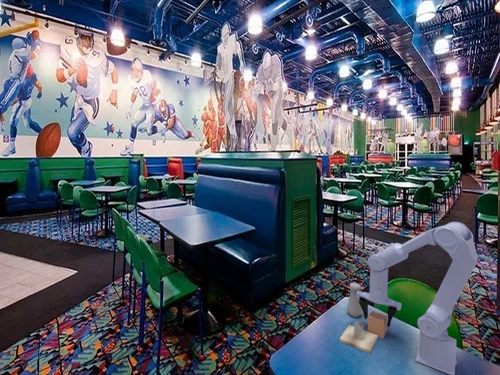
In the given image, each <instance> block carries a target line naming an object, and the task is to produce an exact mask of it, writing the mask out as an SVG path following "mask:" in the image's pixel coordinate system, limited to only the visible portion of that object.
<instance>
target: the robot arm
mask: <svg viewBox="0 0 500 375" xmlns="http://www.w3.org/2000/svg"><path fill="white" fill-rule="evenodd" d="M426 245H431V246H437V245H439V247H440V248H442V249H443V250H444V251H446V252H447V253H448V255H449V256H450V258H451V260H452V261H451V264H450V266H449V268H448V269H447V271H446V274H445V276H444V278H443V280H442V282H441V284H440V287H439V289H438V290H437V292H436V295H435V297H434V298H433V301H432V303H431V304H430V305H429V307H428V309H427V310H426V312H425V313H424V314H423V315H422V316H419V317H418V319H417V321H416V322H417V323H416V324H417V327H418V329H419V340H418V341H419V343H418V344H419V346H418V348H417V354H416V359H415V361H416V362H417V363H419V364H422V365H425V366H427V367H430V368H433V369H434V370H435V369H436V370H437V371H439V372H443V373H445V374H448V375H456V366H457V364H458V359H457V358H456V357H457V339H456V338H453V337H451V336H449V333H448V328H449V327H450V326H452V325H451V324H452V314H453V309H454V307H455V305H456V304H457V302H458V299H459V297H460V296H461V293H462V292H463V290H464V288H465V287H466V284H467V282H468V281H469V279H470V276H471V274H472V273H473V270H474V269H475V267H476V265H477V263H478V261H479V258H478V255H477V254H478V253H477V251H476V250H477V249H476V247H475V243H474V235H473V233H472V231H471V230H470V229H469V228H468V226H466V225H465V224H464V223H462V222H460V221H459V222H458V221H451V222H448V223H447V224H444V225H439V226H437V227H434V228H432V229H429V230H426V231H424V232H421V233H420V234H418V235H417V236H415V237H413V238H412V239H410V240H407V241H406V242H404V243H399V242H395V243H394V242H391V243H390V244H388V245H387V246H388V247H386V248H384V249H379V250H377V253H375V254H371V255H370V256H369V257H368V258H367V266H368V267H369V268H370V269H369V270H370V271H369V273H370V274H369V292H366V291H361V290H360V291H358V292H357V298H360V299H359V304H360V306H361V308H362V313H363V317H364V320H368V316H369V302H371V303H374V304H377V305H381V306H386V307H388V308H387V328H390V327H391V324H392V320H393V318H394V316H395V315H396V313H397V311H398V312H400V311H401V309H402V303H401V302H399V301H397V300H396V301H395V300H394V299H392V298H389V297H388V284H389V283H388V282H389V280H388V279H389V278H388V277H389V268H391V267H392V266H394V265H396V264H398V263H401V262H402V261H404V260H407V259H408V257H409V253H411V252H413V251H416V250H417V249H420V248H422V247H424V246H426Z"/></svg>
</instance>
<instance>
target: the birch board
mask: <svg viewBox="0 0 500 375" xmlns="http://www.w3.org/2000/svg"><path fill="white" fill-rule="evenodd" d="M378 339H379V337H378V335H376V334H373V333H370V332H368V330H365V329H364V337H363V339H362V340H360V339H357V338H355V337H354V326H353V325H350V324H349V325H348V326H347V327H346V329H345V330H344V332H343V333H342V335H341V336H340V337H339V342H341V343H342V344H345V345H348V346H350V347H353V348H355V349H357V350H359V351H362V352H365V353H367V354H370V355H371V354H372V351H373V349H374V348H375V345H376V342H377V340H378Z"/></svg>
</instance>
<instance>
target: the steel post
mask: <svg viewBox="0 0 500 375" xmlns="http://www.w3.org/2000/svg"><path fill="white" fill-rule="evenodd" d="M353 325H354V337H355V338H357V339H360V340H362V339H363V337H364V330H365V322H363V321H360V320H355V322H354V324H353Z"/></svg>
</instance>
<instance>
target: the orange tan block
mask: <svg viewBox="0 0 500 375" xmlns="http://www.w3.org/2000/svg"><path fill="white" fill-rule="evenodd" d="M387 321H388V314H384V313H381V312H377V311H374V310H371V311H370V312H369V313H368V318H367V332H370V333H373V334H376V335H378V338H381V339H384V338H385V336H386V333H387V328H388V327H387Z"/></svg>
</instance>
